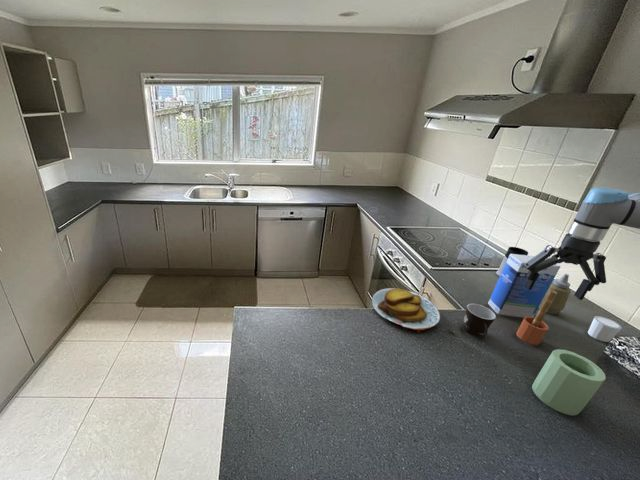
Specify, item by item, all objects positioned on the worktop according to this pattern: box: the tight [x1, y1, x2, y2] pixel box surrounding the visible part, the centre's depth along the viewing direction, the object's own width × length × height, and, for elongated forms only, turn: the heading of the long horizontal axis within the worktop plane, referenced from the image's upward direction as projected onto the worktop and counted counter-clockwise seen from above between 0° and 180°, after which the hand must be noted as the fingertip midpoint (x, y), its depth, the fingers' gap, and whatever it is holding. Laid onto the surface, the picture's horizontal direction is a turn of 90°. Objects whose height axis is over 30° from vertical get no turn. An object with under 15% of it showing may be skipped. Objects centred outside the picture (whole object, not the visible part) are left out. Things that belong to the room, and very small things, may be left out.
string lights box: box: [487, 254, 561, 319], centre depth 113 cm, size 13×8×26 cm, turn 80°
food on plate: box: [371, 287, 441, 333], centre depth 115 cm, size 25×25×7 cm
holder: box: [495, 246, 529, 277], centre depth 139 cm, size 9×14×15 cm, turn 167°
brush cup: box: [515, 316, 550, 346], centre depth 103 cm, size 7×7×8 cm
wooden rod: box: [531, 290, 557, 327], centre depth 100 cm, size 4×4×21 cm
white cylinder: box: [587, 315, 623, 343], centre depth 106 cm, size 7×7×7 cm
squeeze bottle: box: [538, 273, 571, 315], centre depth 117 cm, size 8×8×18 cm
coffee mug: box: [461, 303, 497, 338], centre depth 104 cm, size 12×9×10 cm
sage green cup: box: [531, 348, 607, 416], centre depth 80 cm, size 10×10×14 cm
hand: (552, 292), depth 96 cm, fingers open, 13 cm apart
